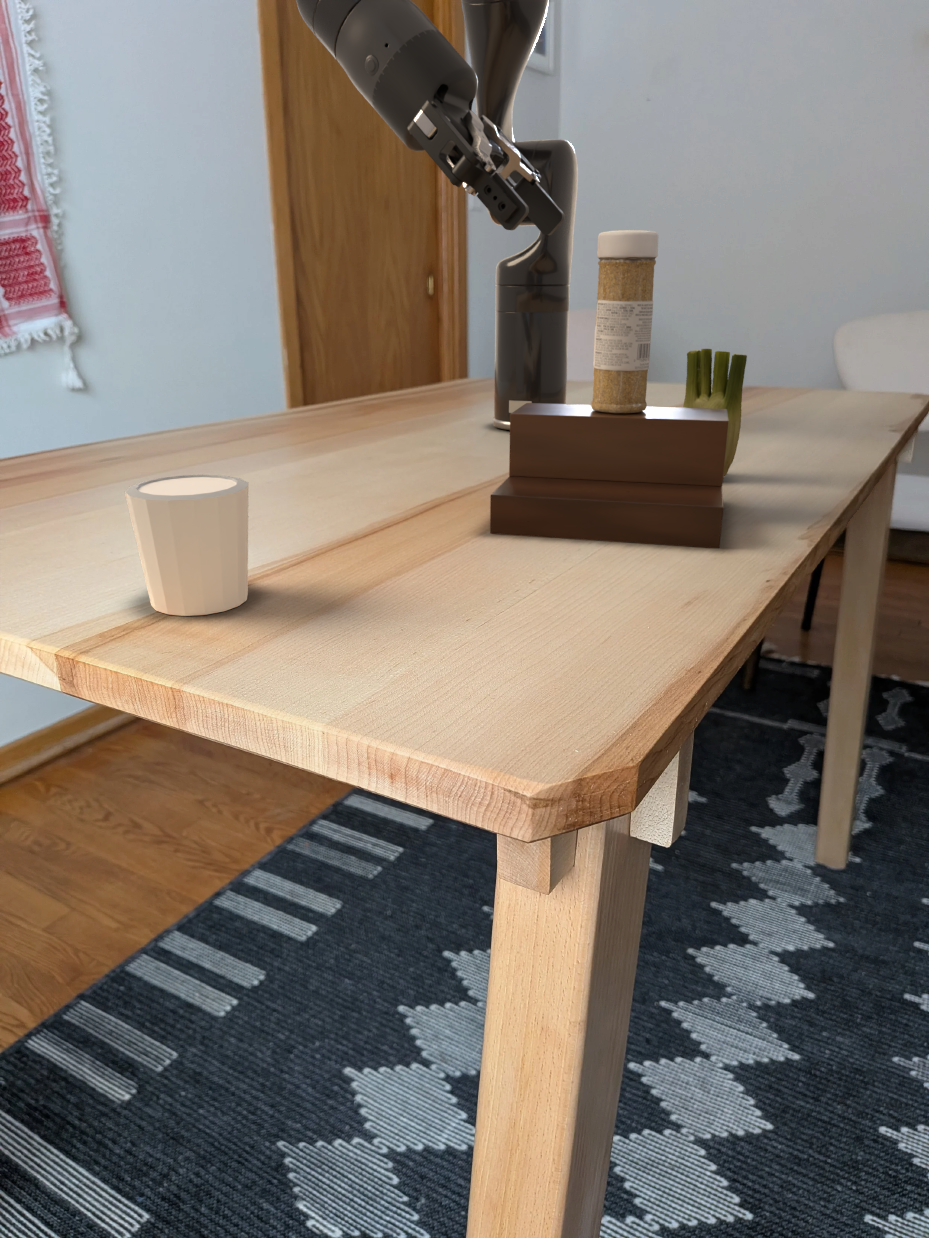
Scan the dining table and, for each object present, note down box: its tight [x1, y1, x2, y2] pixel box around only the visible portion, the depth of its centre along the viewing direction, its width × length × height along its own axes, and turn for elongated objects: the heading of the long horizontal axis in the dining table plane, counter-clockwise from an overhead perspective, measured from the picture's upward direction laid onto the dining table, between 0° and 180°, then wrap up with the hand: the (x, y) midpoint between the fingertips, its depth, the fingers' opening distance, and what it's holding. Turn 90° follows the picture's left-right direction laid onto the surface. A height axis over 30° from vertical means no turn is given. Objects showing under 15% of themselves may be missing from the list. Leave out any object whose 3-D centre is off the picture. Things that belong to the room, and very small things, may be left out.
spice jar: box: [590, 229, 659, 414], centre depth 71 cm, size 5×5×13 cm
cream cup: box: [124, 474, 249, 617], centre depth 54 cm, size 7×7×7 cm
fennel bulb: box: [682, 348, 748, 478], centre depth 86 cm, size 6×5×12 cm
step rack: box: [489, 403, 729, 549], centre depth 72 cm, size 14×17×8 cm
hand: (539, 224), depth 72 cm, fingers open, 8 cm apart
